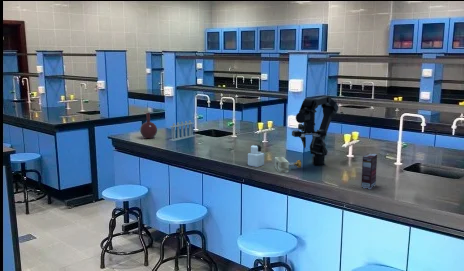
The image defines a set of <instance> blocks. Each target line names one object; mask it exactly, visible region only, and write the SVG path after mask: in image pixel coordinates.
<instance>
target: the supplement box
mask: <svg viewBox="0 0 464 271" xmlns="http://www.w3.org/2000/svg"><path fill="white" fill-rule="evenodd" d="M377 163H378V154H377V153H370V152H368V153H367V154H364V155H363V156H362V164H361V165H362V166H361V182H360V183H361V185H360V188H361V187H363V188H362V189H365V188H368V189H367V190H371V189H373V188H374V187H375V186H377V185H376V184H377V168H378V167H377V166H378V165H377ZM374 185H375V186H374ZM373 186H374V187H373ZM372 187H373V188H372Z"/></svg>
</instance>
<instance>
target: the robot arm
mask: <svg viewBox="0 0 464 271" xmlns="http://www.w3.org/2000/svg"><path fill="white" fill-rule="evenodd" d="M319 106H321V109H322V113H323V117H322V120H321V122H320V125H319V128H318V129H315V126H316V123H315V122H316V119H315V118H316V113H317V110H316V109H317V108H319ZM338 111H339V105H338V104H337V102H336V101H335V100H333V99H332V97H331V96H330V95H329V96H328V95H322V96H320V97H316V98H304V99H303V101H302V104H301V106H300V107H299V111H298V113H297V114H296V116H295V120H296V122H297V123H298V124H297V129H296V130H295V129H294V130H292V131H291V136H292V137H294V138H299V139H300V140H301V143H302V146H303V148H304V149H306V146H307V143H306V142H307V139H306V138H307V137H306V136H311V137H312V138H311V142H310V145H309V150H310V154H311V155H312V156H311V164H312V165H313V166H316V167H317V166H319V167H320V166H326V163H325V162H326V161H325V158H326V156H327V155H328V153H329V152H328V149H327V147H326V145H327V144H326V141H325V139H326V137H327V134H328V133H327V132H328V130H329V128H330V124H331V121H332V118H334V117H335V116H336V115H337V113H338Z"/></svg>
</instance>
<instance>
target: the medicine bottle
mask: <svg viewBox="0 0 464 271" xmlns="http://www.w3.org/2000/svg"><path fill="white" fill-rule="evenodd" d="M247 165H248V166H250V167H256V168H259V167H261V166H264V165H265V153H264V152H262V146H261V145H260V144H252V145H251V146H250V152H248V153H247Z"/></svg>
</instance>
